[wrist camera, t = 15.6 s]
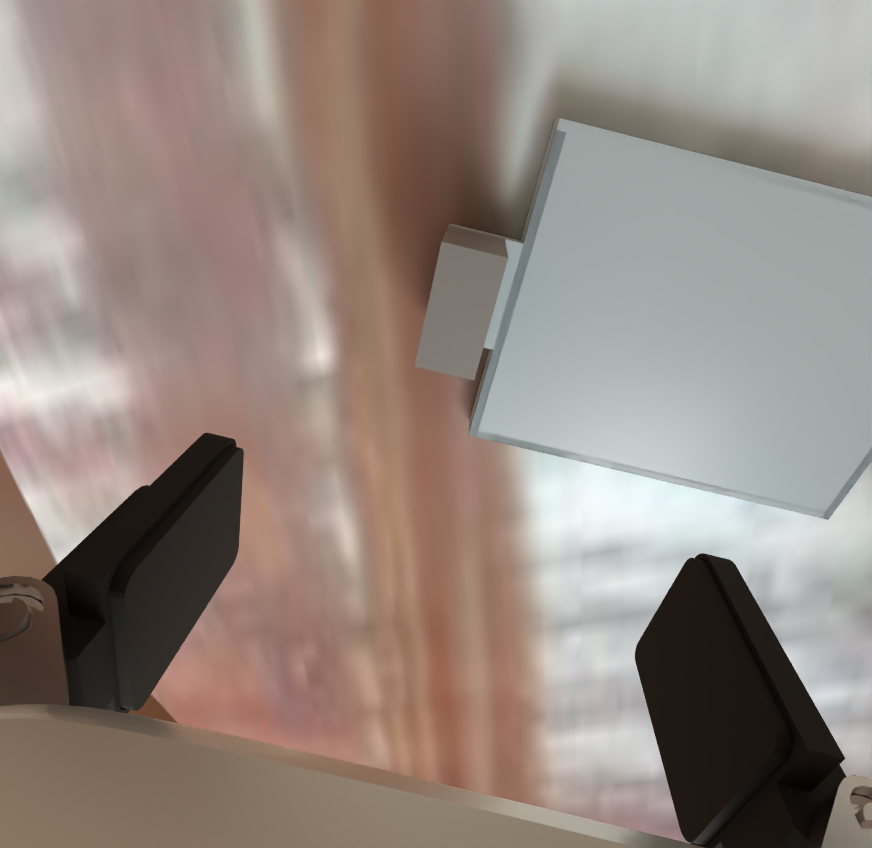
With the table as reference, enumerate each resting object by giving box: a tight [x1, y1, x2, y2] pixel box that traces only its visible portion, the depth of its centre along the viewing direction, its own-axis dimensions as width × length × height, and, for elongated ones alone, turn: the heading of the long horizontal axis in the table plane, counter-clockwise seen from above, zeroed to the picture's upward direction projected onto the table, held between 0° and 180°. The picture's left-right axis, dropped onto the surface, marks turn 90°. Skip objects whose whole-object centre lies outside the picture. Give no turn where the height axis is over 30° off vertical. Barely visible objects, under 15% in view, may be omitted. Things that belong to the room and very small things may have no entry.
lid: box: [415, 118, 872, 519], centre depth 28 cm, size 18×28×7 cm, turn 78°
